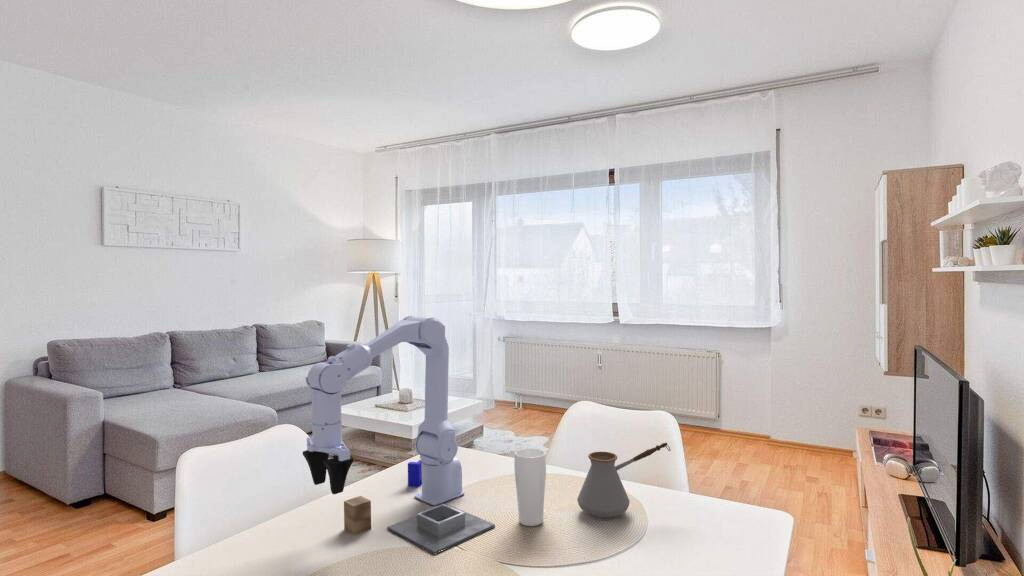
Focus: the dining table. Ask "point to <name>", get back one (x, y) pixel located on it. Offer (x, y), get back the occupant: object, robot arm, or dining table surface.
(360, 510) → the rail end post
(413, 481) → the blue rectangular block
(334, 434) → the robot arm
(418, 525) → the grey square socket base
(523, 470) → the drinking glass
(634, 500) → the dining table surface
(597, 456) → the coffee pot
